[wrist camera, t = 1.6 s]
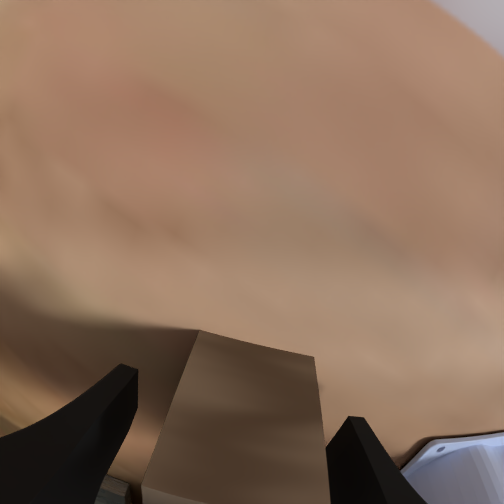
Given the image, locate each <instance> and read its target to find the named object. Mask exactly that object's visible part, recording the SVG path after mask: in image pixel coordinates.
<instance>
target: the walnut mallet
mask: <svg viewBox="0 0 504 504" xmlns="http://www.w3.org/2000/svg"><path fill="white" fill-rule="evenodd" d="M141 488H142V500H143V504H331V503H330V491H329V480H328V469H327V459H326V449H325V440H324V431H323V422H322V414H321V406H320V398H319V390H318V383H317V375H316V368H315V361H314V357H312V356H307V355H302V354H297V353H292V352H288V351H283V350H278V349H274V348H270V347H265V346H261V345H257V344H252V343H248V342H244V341H240V340H236V339H232V338H228V337H224V336H220V335H217V334H213V333H209V332H205V331H202V330H199V333H198V336H197V338H196V341H195V343H194V346H193V348H192V351H191V354H190V356H189V359H188V361H187V364H186V366H185V369H184V372H183V374H182V377H181V379H180V382H179V385H178V387H177V390H176V393H175V395H174V398H173V400H172V403H171V406H170V408H169V411H168V414H167V416H166V419H165V422H164V424H163V427H162V430H161V432H160V435H159V438H158V441H157V443H156V446H155V449H154V451H153V454H152V457H151V460H150V462H149V465H148V468H147V471H146V473H145V476H144V479H143V482H142V485H141Z"/></svg>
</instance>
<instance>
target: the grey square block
mask: <svg viewBox="0 0 504 504" xmlns="http://www.w3.org/2000/svg"><path fill="white" fill-rule="evenodd" d="M96 500H97V501H99V502H102V503H104V504H131V494H130V487H129V483H127V482H124V481H121V480H119V479H116V478H114V477H111V476H109V475H106V476H105V477H104V480H103V482H102V484H101V486H100V489H99V492H98V495H97V497H96Z"/></svg>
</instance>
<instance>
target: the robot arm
mask: <svg viewBox="0 0 504 504" xmlns="http://www.w3.org/2000/svg"><path fill="white" fill-rule="evenodd" d="M137 408H138V369H135V368H132V367H130V366H127V365H124V364H119V365H118V366H117V367H115V368H114V369H113V370H112V371H111V372H110V373H108V374H107V375H106V376H105V377H104V378H102V379H101V380H100V381H99V382H97V383H96V384H95V385H94V386H92V387H91V388H90V389H88V390H87V391H86V392H84V393H83V394H81V395H80V396H79V397H77V398H76V399H75V400H73V401H72V402H70V403H69V404H67V405H65V406H64V407H62V408H61V409H59V410H58V411H56V412H54V413H53V414H51V415H49V416H48V417H46V418H44V419H42V420H40V421H38V422H36V423H34V424H32V425H30V426H28V427H26V428H24V429H21V430H19V431H17V432H14V433H12V434H9V435H6V436H4V437H0V504H94V503H95V500H96V497H97V495H98V492H99V489H100V486H101V484H102V482H103V480H104V477H105V476H106V474H107V472H108V470H109V468H110V466H111V464H112V462H113V460H114V458H115V456H116V455H117V453H118V451H119V449H120V447H121V445H122V443H123V441H124V439H125V437H126V435H127V433H128V432H129V429H130V426H131V424H132V421H133V419H134V416H135V413H136V411H137ZM325 449H326V459H327V469H328V480H329V491H330V503H331V504H504V432H502V433H496V434H489V435H481V436H472V437H463V438H451V439H436V440H433V441H431V442H429V443H427V444H426V445H425V446H424V447H423V448H422V450H421V451H420V452H419V453H418V454H417V455H416V456H415V457H414V458H413V459H412V460H411V461H410V462H409V463H408V464H407V465H406V466H405V467H404V468H403V469H402V470H401V471H399V469H398V468H397V466H396V465H395V464H394V462H393V461H392V459H391V458H390V456H389V455H388V453H387V452H386V450H385V449H384V447H383V446H382V444H381V443H380V441H379V440H378V438H377V437H376V435H375V434H374V432H373V430H372V429H371V427H370V426H369V424H368V423H367V421H366V420H365V418H364V417H354V416H348V417H347V419H346V420H345V422H344V423H343V425H342V426H341V427H340V429H339V430H338V432H337V433H336V434H335V436H334V437H333V439H332V440H331V441H330V443H329V444H328V445H327V447H326V448H325Z"/></svg>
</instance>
